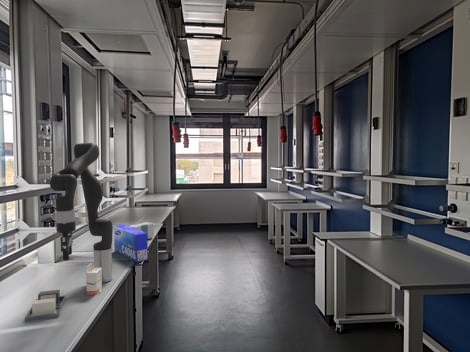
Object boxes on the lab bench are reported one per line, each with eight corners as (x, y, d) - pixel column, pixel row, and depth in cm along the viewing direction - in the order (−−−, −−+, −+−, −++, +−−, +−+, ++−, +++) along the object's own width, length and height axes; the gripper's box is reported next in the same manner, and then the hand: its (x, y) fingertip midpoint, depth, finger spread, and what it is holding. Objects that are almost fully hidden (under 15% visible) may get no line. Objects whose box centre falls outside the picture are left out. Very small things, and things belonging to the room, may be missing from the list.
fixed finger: (40, 303, 158) (40, 291, 158) (60, 301, 160) (59, 289, 160) (38, 307, 154) (37, 295, 154) (58, 305, 156) (58, 293, 156)
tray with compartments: (36, 304, 160) (36, 299, 160) (66, 301, 164) (66, 295, 163) (24, 324, 141) (24, 317, 141) (58, 319, 145) (58, 313, 144)
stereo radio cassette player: (135, 243, 278) (134, 218, 277) (127, 242, 282) (127, 217, 281) (154, 238, 296) (153, 214, 295) (147, 237, 300) (146, 214, 299)
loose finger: (34, 313, 148) (34, 300, 148) (56, 310, 150) (55, 297, 150) (32, 317, 144) (31, 304, 144) (54, 314, 146) (53, 301, 146)
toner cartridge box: (114, 251, 255) (113, 225, 254) (125, 249, 260) (124, 224, 260) (136, 263, 225) (135, 234, 224) (148, 260, 230) (147, 232, 229)
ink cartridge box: (97, 296, 169) (96, 266, 168) (86, 297, 168) (85, 266, 168) (102, 290, 177) (101, 261, 177) (92, 290, 177) (91, 261, 176)
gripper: (59, 218, 159) (61, 253, 160) (52, 224, 145) (54, 263, 146) (77, 217, 161) (79, 252, 162) (72, 223, 147) (74, 261, 148)
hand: (67, 257), depth 154 cm, fingers open, 8 cm apart
